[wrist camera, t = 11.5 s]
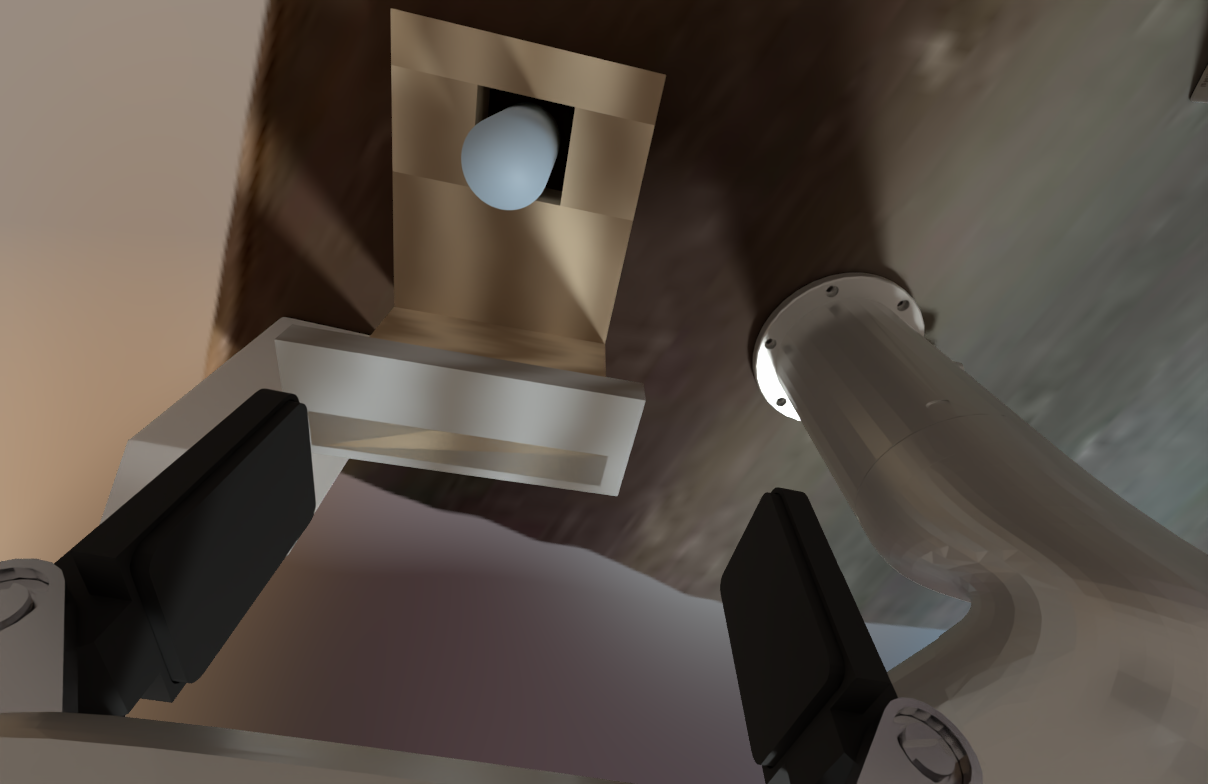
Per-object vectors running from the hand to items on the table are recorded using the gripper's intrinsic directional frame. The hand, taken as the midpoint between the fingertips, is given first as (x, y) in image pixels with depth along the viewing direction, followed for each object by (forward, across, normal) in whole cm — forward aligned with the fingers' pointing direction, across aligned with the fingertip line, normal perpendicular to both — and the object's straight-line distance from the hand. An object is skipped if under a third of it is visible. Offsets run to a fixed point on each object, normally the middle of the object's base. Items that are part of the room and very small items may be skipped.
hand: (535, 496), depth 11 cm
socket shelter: (+28, +5, +1) cm, 28 cm away
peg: (+28, +5, -3) cm, 28 cm away
